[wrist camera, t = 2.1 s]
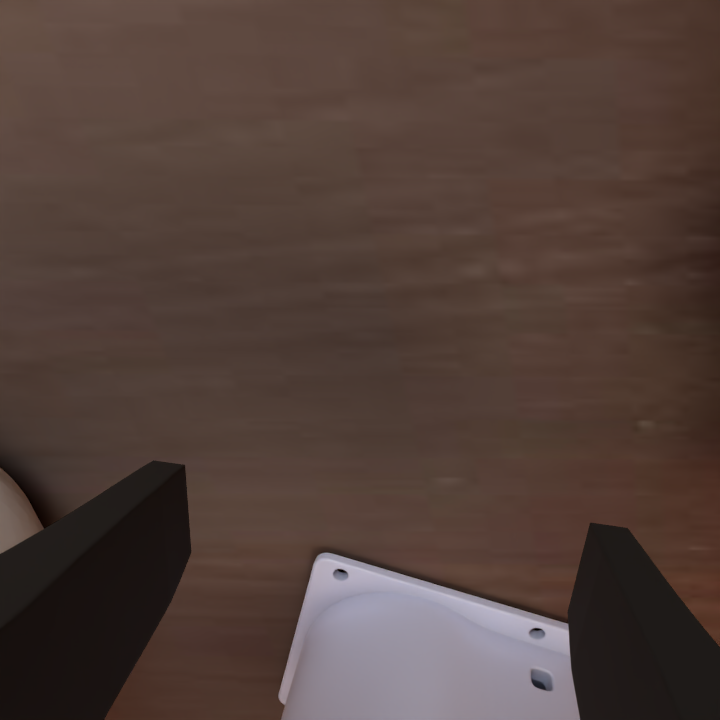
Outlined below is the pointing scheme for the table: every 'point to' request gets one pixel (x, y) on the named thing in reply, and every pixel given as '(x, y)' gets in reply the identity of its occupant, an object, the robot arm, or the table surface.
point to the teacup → (15, 514)
